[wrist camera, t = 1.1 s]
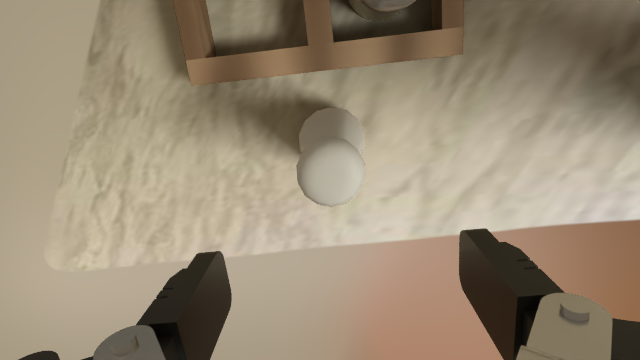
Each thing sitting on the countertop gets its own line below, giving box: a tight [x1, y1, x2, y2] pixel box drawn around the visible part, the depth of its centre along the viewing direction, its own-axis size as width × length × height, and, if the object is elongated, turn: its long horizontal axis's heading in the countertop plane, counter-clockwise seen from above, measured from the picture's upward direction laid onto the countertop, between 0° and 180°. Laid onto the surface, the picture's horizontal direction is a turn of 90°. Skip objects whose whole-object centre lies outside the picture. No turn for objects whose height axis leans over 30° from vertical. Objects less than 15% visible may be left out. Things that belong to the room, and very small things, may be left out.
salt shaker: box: [296, 107, 365, 207], centre depth 27 cm, size 6×6×13 cm
